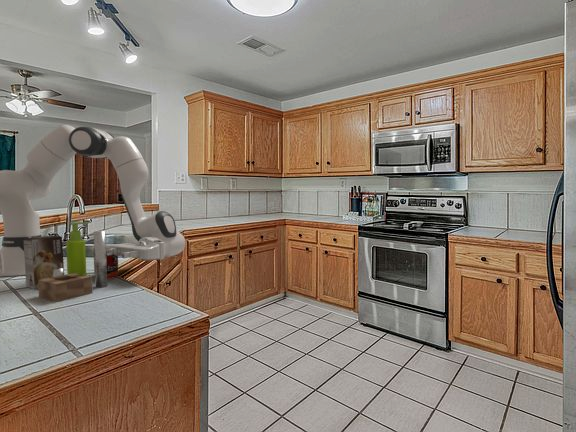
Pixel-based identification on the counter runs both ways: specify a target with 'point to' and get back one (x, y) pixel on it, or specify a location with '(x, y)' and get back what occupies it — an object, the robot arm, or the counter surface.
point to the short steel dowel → (57, 271)
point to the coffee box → (42, 258)
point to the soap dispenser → (76, 251)
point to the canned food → (111, 265)
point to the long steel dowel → (100, 259)
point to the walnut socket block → (65, 287)
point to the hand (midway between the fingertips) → (114, 254)
